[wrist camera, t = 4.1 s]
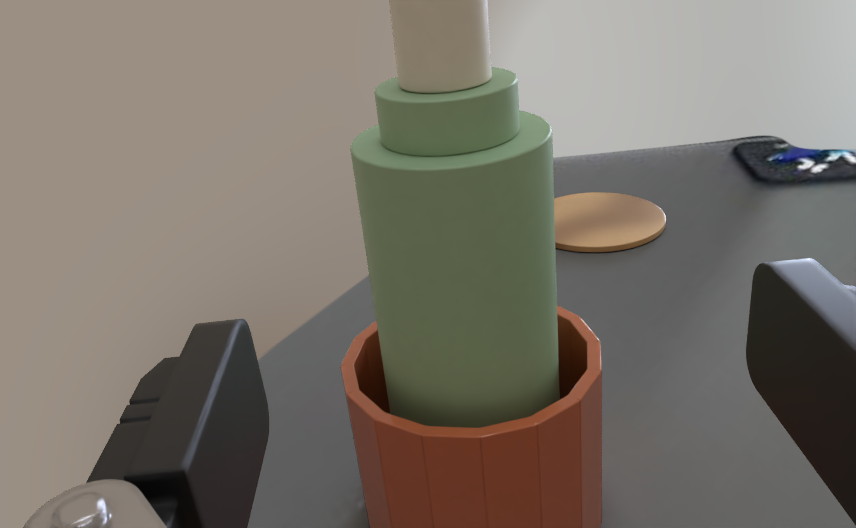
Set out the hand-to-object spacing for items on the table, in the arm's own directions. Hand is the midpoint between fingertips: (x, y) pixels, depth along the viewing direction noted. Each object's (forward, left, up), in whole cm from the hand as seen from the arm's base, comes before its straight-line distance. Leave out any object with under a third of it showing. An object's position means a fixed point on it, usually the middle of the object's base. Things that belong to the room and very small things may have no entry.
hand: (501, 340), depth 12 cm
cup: (-6, +9, -14) cm, 18 cm away
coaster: (-12, +35, -14) cm, 40 cm away
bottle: (-6, +9, -14) cm, 18 cm away
